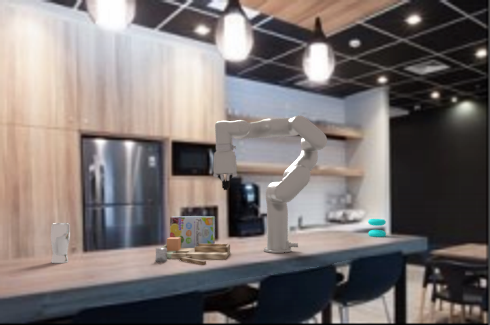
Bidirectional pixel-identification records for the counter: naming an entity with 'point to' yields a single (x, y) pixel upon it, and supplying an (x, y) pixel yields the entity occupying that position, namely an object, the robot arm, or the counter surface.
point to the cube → (174, 243)
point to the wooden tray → (201, 252)
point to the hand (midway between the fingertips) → (225, 189)
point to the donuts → (377, 223)
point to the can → (161, 254)
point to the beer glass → (60, 242)
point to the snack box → (193, 230)
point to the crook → (192, 260)
